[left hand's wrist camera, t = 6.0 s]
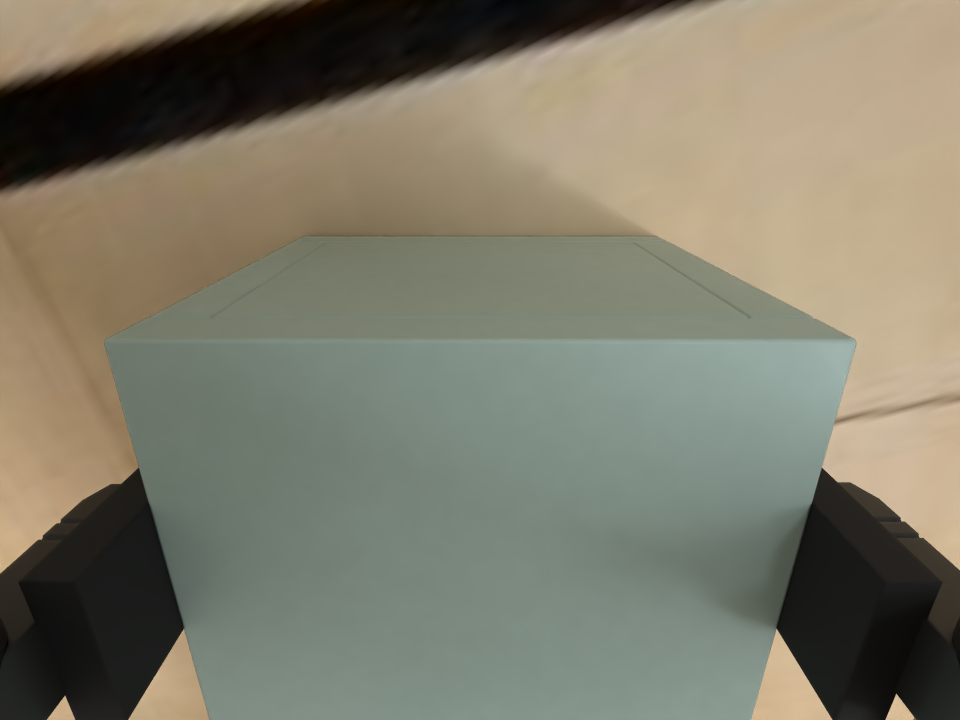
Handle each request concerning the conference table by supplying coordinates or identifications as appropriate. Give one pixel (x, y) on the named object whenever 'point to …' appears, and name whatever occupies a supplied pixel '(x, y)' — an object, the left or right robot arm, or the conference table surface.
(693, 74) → the conference table surface
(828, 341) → the cabinet
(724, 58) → the conference table surface
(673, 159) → the conference table surface
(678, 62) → the conference table surface
